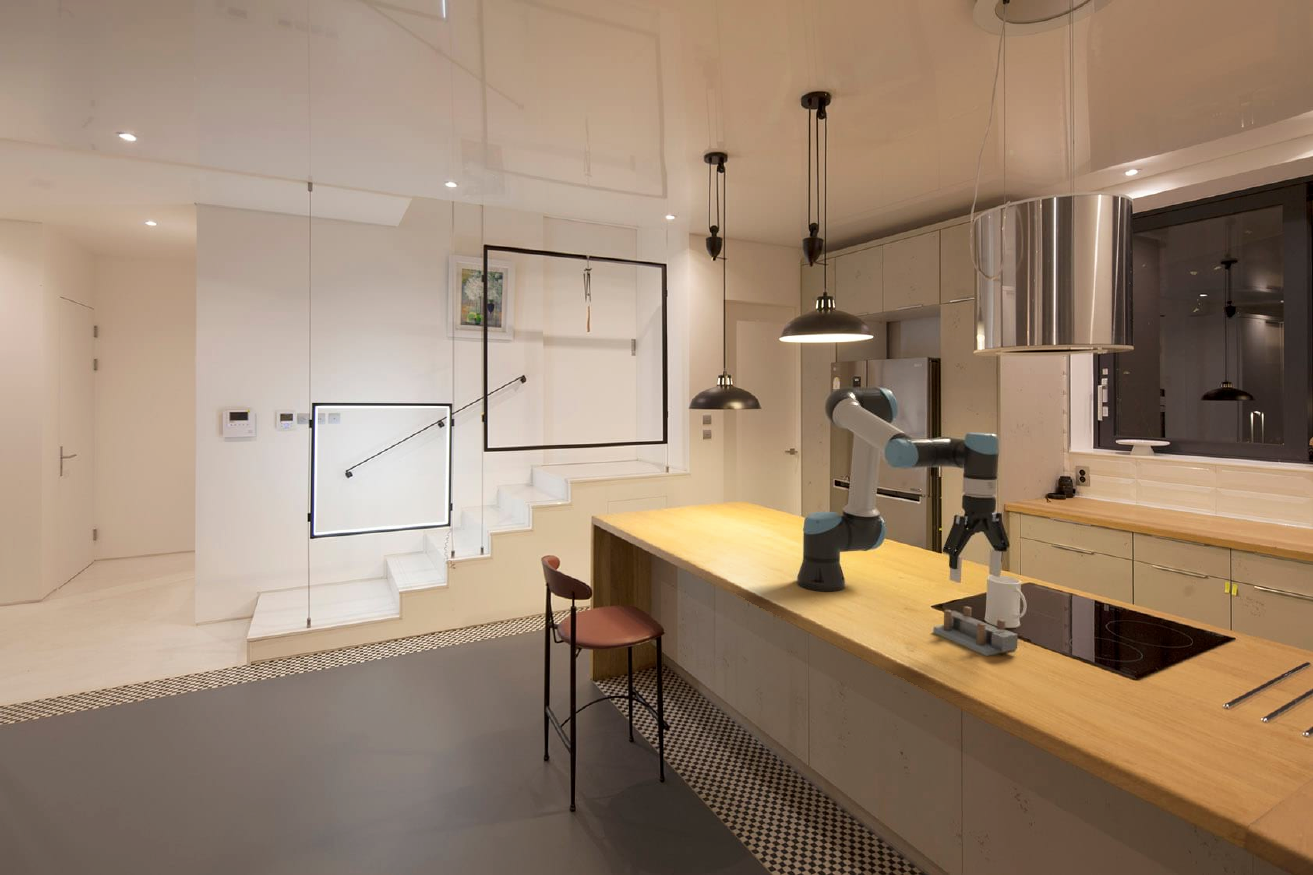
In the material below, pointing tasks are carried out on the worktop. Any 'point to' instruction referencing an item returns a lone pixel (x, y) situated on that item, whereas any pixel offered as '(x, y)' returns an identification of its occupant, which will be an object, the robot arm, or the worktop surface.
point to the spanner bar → (992, 634)
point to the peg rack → (966, 640)
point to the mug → (1004, 601)
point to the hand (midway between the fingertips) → (975, 578)
